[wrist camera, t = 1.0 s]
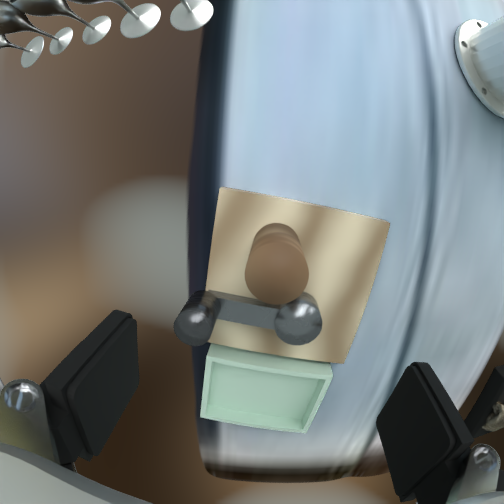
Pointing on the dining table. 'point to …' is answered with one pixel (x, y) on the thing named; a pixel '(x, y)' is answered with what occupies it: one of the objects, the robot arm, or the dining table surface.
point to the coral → (488, 406)
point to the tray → (263, 389)
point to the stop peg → (276, 265)
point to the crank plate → (318, 260)
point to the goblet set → (132, 26)
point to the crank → (248, 316)
